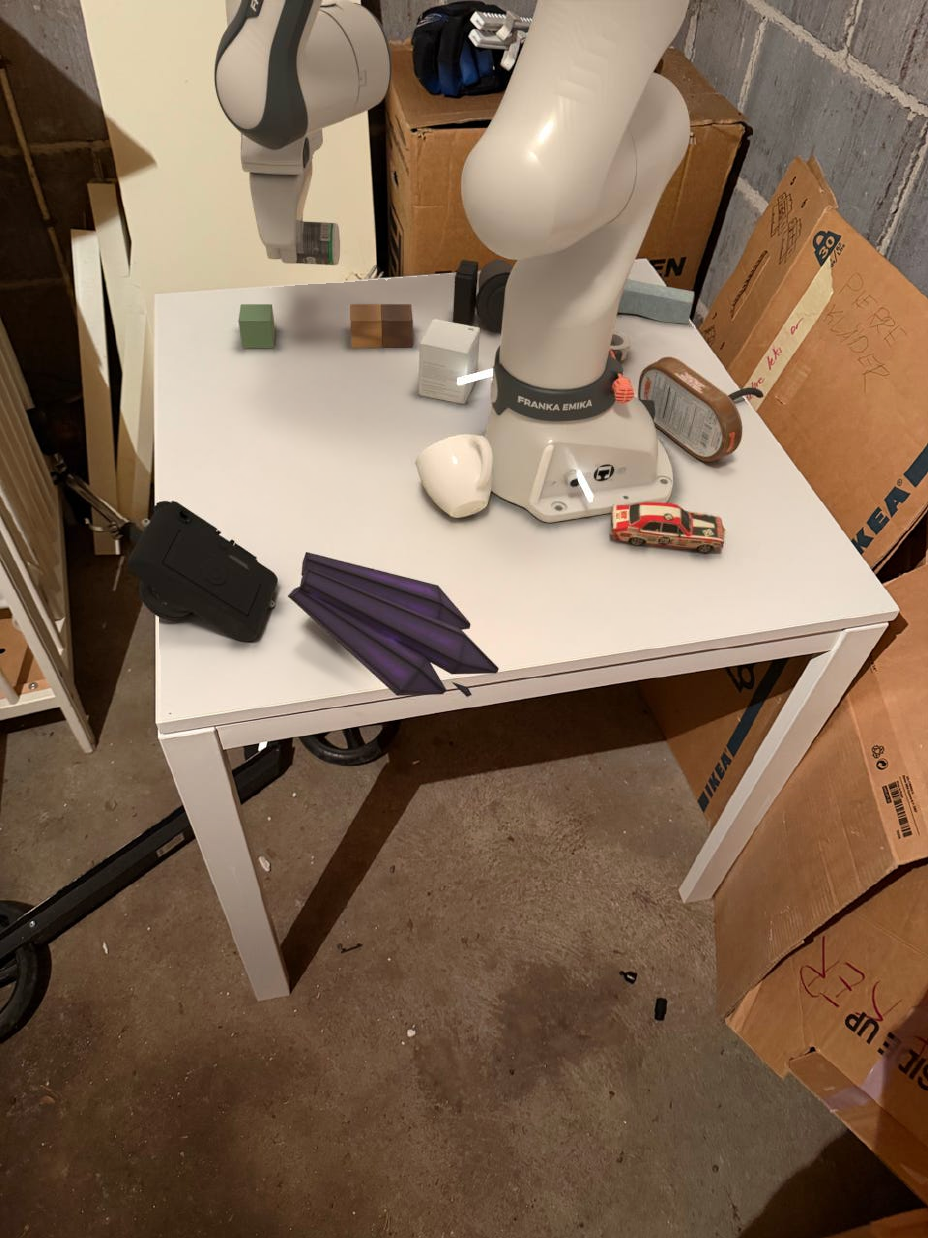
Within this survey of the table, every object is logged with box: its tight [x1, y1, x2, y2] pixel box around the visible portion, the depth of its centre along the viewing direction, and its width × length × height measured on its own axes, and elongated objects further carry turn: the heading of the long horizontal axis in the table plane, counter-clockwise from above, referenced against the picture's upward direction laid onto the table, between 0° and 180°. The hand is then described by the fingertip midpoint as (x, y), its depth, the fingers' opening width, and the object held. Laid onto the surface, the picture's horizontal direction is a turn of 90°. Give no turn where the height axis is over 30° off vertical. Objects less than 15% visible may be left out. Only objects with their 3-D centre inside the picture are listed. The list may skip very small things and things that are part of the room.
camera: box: [126, 500, 279, 642], centre depth 82 cm, size 14×7×8 cm
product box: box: [418, 318, 481, 405], centre depth 108 cm, size 6×6×7 cm
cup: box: [414, 433, 493, 519], centre depth 93 cm, size 8×10×7 cm
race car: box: [610, 502, 726, 555], centre depth 93 cm, size 5×12×5 cm, turn 79°
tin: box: [637, 356, 743, 462], centre depth 103 cm, size 15×3×8 cm, turn 34°
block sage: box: [238, 303, 276, 349], centre depth 114 cm, size 4×4×4 cm
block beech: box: [349, 303, 382, 349], centre depth 116 cm, size 4×4×4 cm
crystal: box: [287, 551, 500, 698], centre depth 80 cm, size 7×12×20 cm
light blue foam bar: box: [617, 278, 696, 325], centre depth 126 cm, size 23×7×3 cm
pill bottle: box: [265, 220, 341, 266], centre depth 106 cm, size 5×5×8 cm
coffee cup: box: [475, 259, 514, 333], centre depth 120 cm, size 8×8×10 cm
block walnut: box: [380, 303, 414, 349], centre depth 116 cm, size 4×4×4 cm
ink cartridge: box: [452, 259, 479, 326], centre depth 118 cm, size 5×2×8 cm, turn 168°
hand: (293, 248), depth 107 cm, fingers closed on pill bottle, 5 cm apart
